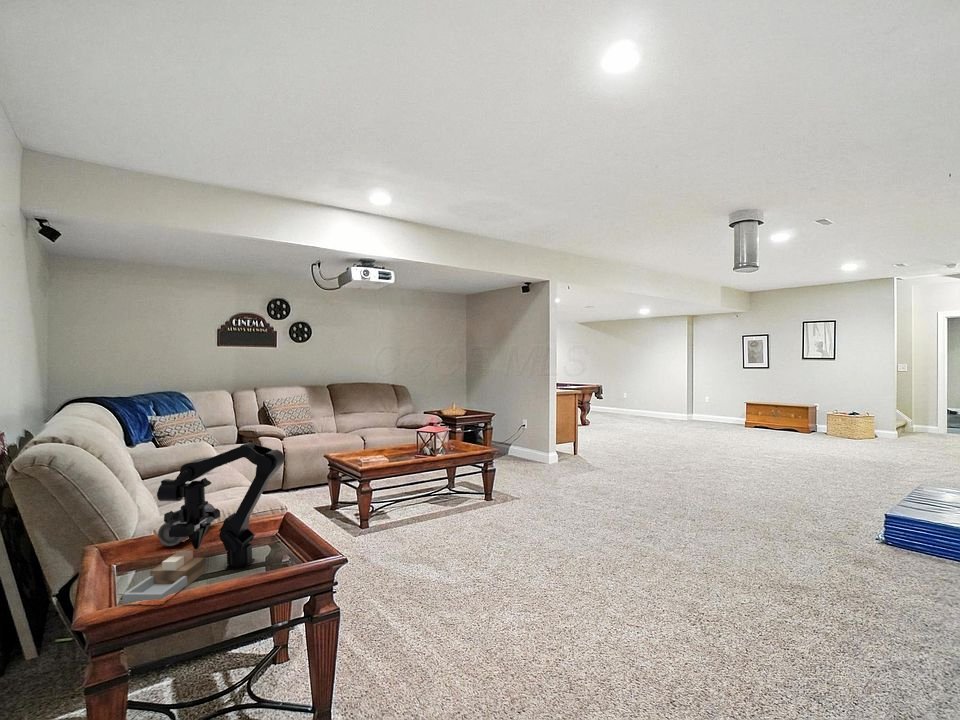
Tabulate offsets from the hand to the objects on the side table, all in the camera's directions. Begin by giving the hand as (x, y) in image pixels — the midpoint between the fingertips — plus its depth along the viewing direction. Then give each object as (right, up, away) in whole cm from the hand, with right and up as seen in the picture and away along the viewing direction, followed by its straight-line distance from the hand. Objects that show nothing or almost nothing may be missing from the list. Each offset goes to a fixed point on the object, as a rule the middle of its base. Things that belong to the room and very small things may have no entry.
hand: (196, 548), depth 160 cm
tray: (-1, -6, -19) cm, 20 cm away
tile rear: (0, -1, -7) cm, 7 cm away
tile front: (-1, -1, -11) cm, 11 cm away
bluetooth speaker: (-17, -6, +25) cm, 31 cm away
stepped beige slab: (0, -6, -9) cm, 11 cm away
